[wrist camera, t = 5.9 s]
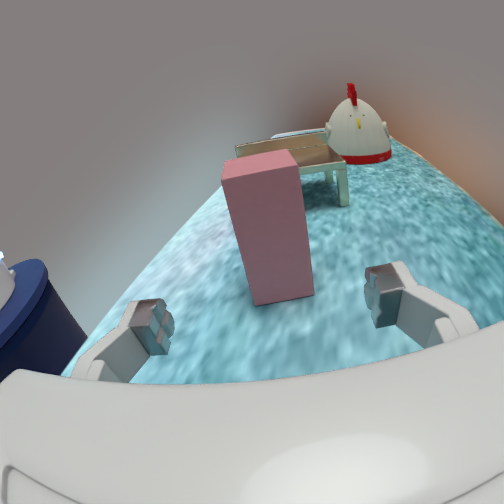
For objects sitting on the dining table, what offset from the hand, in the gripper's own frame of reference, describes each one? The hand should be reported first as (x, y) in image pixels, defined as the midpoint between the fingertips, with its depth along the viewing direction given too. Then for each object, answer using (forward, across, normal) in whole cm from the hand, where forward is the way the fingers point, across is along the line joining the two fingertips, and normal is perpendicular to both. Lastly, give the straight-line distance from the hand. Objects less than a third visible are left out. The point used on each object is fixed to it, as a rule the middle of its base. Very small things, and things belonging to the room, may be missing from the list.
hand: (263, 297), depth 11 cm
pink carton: (+12, 0, -9) cm, 15 cm away
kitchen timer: (+48, +19, -9) cm, 52 cm away
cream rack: (+30, +3, -9) cm, 31 cm away
